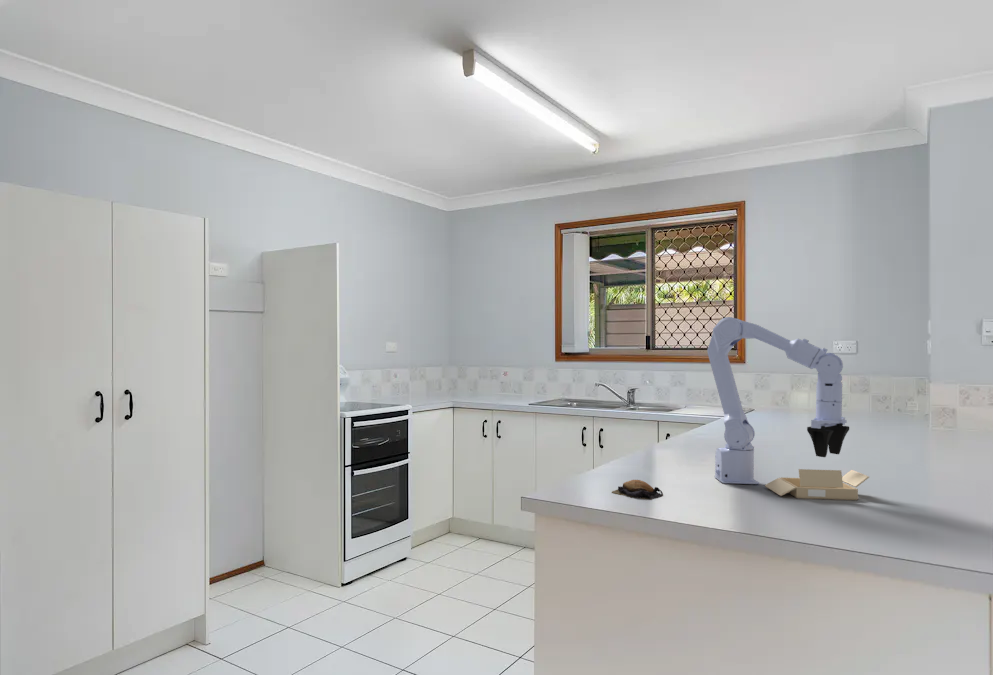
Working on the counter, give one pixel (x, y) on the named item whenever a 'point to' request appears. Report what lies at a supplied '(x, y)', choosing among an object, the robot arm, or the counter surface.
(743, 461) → the robot arm
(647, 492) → the brown black domed lump
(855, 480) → the right flap
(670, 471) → the counter surface
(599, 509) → the counter surface
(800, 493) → the carton
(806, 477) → the front flap
